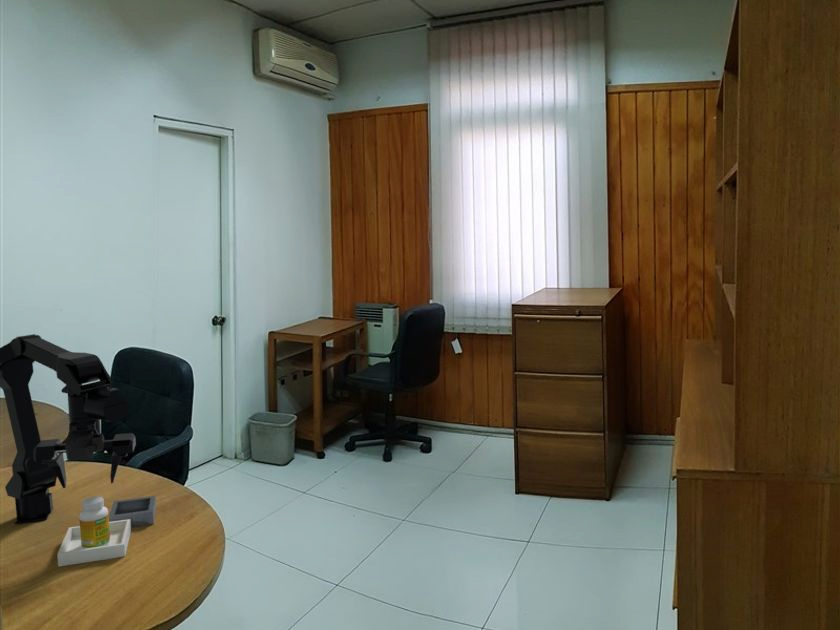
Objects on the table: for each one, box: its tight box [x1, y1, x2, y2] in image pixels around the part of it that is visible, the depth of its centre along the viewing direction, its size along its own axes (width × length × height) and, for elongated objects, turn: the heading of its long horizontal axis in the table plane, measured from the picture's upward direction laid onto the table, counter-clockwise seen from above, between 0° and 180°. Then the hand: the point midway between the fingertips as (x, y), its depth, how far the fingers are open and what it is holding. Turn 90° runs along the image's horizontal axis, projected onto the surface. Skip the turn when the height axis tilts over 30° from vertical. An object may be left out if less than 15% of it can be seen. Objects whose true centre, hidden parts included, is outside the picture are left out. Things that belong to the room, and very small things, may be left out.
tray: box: [56, 519, 132, 568], centre depth 132 cm, size 12×12×3 cm
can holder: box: [108, 495, 157, 528], centre depth 145 cm, size 9×9×3 cm
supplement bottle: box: [78, 496, 110, 549], centre depth 132 cm, size 5×5×10 cm
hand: (88, 484), depth 136 cm, fingers open, 9 cm apart
